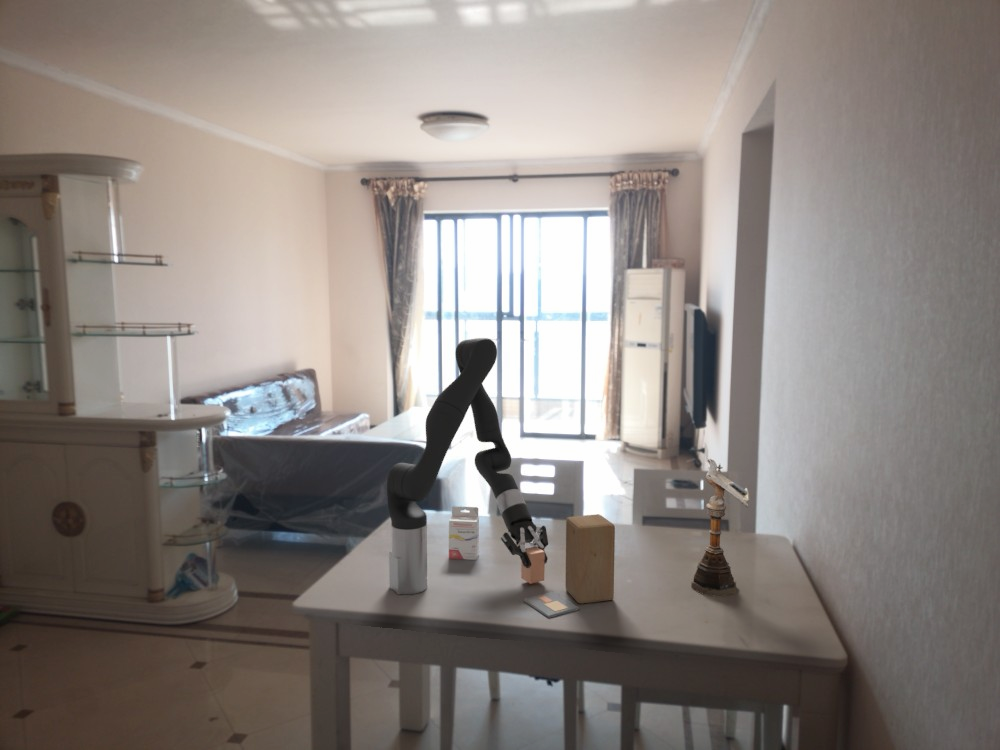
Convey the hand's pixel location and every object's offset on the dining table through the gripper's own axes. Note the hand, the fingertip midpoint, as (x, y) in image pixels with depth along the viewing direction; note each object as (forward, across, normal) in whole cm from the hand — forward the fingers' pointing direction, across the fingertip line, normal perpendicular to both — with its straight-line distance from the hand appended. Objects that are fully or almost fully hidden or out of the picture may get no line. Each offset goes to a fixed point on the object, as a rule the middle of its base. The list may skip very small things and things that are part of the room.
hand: (537, 564), depth 186 cm
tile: (+13, -4, -4) cm, 14 cm away
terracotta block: (+2, 0, +5) cm, 5 cm away
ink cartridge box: (-16, -7, +25) cm, 30 cm away
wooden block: (+13, +8, -4) cm, 16 cm away
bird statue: (+23, +42, -15) cm, 50 cm away
